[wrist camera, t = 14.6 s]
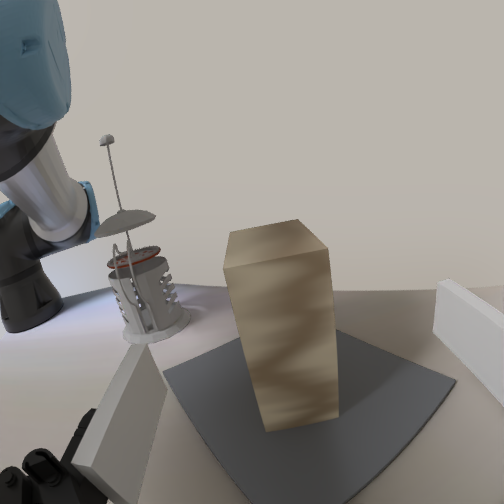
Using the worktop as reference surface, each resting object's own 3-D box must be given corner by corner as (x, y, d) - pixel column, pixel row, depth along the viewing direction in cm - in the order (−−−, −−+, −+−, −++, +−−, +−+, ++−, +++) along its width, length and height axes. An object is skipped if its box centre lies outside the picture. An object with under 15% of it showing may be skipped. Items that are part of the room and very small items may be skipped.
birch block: (265, 432, 17) (222, 268, 14) (259, 362, 25) (230, 231, 22) (338, 417, 17) (327, 248, 14) (314, 351, 25) (297, 218, 21)
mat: (164, 375, 26) (162, 371, 26) (294, 313, 33) (293, 310, 33) (288, 542, 9) (287, 540, 9) (454, 384, 16) (455, 379, 16)
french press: (189, 301, 42) (148, 130, 35) (194, 340, 31) (136, 110, 24) (127, 316, 41) (82, 150, 34) (114, 358, 30) (49, 140, 23)
